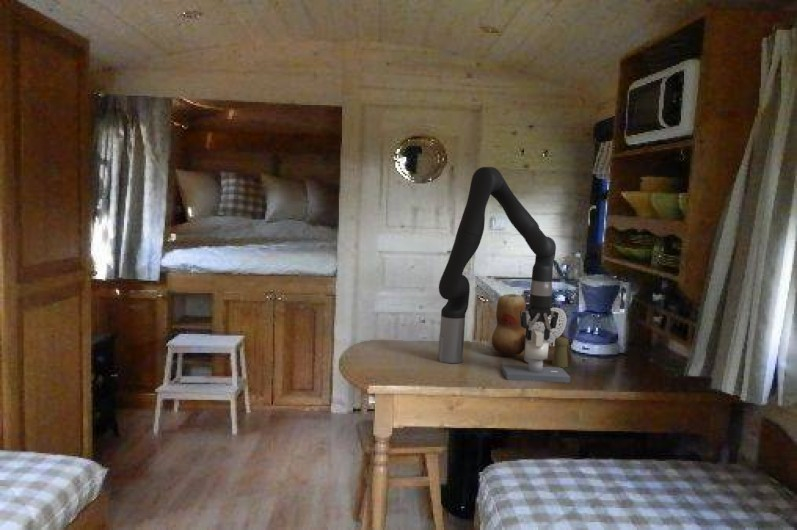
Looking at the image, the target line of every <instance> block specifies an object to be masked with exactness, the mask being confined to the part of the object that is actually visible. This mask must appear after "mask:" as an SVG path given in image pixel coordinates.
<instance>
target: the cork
mask: <svg viewBox="0 0 797 530" xmlns="http://www.w3.org/2000/svg"><path fill="white" fill-rule="evenodd" d="M568 346H569V339H568V338H566V337H564V336H559V337H557V338H556V339H555V343H554V347H555V348H554V353H553V358H552V362H551V366H552V365H553V366H552V367H554V366H556V367H563V368H562V369H565V368H564V367H567V368H568V367H569V365H568V364H569V363H568Z"/></svg>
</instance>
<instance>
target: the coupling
mask: <svg viewBox="0 0 797 530" xmlns="http://www.w3.org/2000/svg"><path fill="white" fill-rule="evenodd" d="M543 339H544V335H543V334H542V331H540V329H533V330H532V340H529V341H526V346H525V350H524V352H525V357H527V358H531V359H537V360H543V361H545V360H548V356H549V347H550V344H548V343H547V342H544V340H543Z"/></svg>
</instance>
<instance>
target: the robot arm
mask: <svg viewBox="0 0 797 530" xmlns="http://www.w3.org/2000/svg"><path fill="white" fill-rule="evenodd" d="M469 186H470V187H469V192H468V197H467V201H466V204H465V207H464V210H463V213H462V216H461V220H460V222H459V225H458V228H457V231H456V235H455V237H454V242H453V246H452V247H451V251H450V255H449V258H448V260H447V263H446V266H445V268H444V270H443V273H442V276H441V277H440V280H439V282H438V292H439V295H440V296H441V298H442V299H444V300H446V301H447V302H446V303H445V305H444V306H443V307H442V309H441V310H440V311H441V314H440V328H439V340H438V352H437V353H438V354H437V355H438V356H437V358H438V362H440V363H446V364H458V363H460V364H461V363H462V362H463V360H464V345H465V342H464V341H465V331H466V330H465V328H466V327H465V326H466V314H467V311H468V308H469V303H470V301H469V300H470V292H471V291H470V290H471V287H470V285H471V284H470V281H469V279H468V278H467V276H466V275H464V274H463V273H464V271H465V267H467V264H468V262H469V261H470V260H471V259H472V258H473V256H474V255H475V254H476V251H477V250H478V249H479V247H480V244H481V241H482V239H483V234H484V231H485V219H486V216H485V215H486V209H487V208H486V207H487V204H488V202H489V199H490V198H491V197H490V196H492V198H494V199H495V200H496V201H497V202H498V204H499V205H500V206H501V208H502V210H503V211H504V213H505V215H506V218H507V219H508V220H509V222H510V223H511V225H512V226H513V227H514V228H515V230H516V231H517V233H519V234H520V236H521V237H522V238H523V239H524V241H525V242H526V244H527V245H528V246H527V247H529V249H530V251H531V252H532V253H533V254H534V255H535V259H534V261H535V262H534V264H533V267H532V271H531V272H532V273H531V282H530V288H529V302H528V305H529V306H528V309H527V310H525V311H520V318H521V326H522V327H523V328H525V333H526V338H527V340H531V335H532V330H531V329H532V327H533V325H535V323H536V322H537V323H538V322H543V324H544V326H545V329H544V338H543V339H544V340H548V339H549V338H550V332H551V331H550V330H551V329H553V328H554V329H555V328H556V324H557V319H558V315H559V313H560V312H559V313H558V312H556V311H551V307H552V297H553V296H552V294H553V272H554V271H553V269H554V268H553V267H554V263H555V258H556V251H557V245H556V242H555V240H554V239H553V238H552V237H549V236H546V234H545V233H544V232H543V231H542V230H541V228H540V226H539V224H538V222H537V221H536V220H535V218H534V217H533V216H532V214H530V212H529V211H528V210H527V209H526V208H525V207H524V205H523V204H522V203H521V202H520V201H519V199H518V198H517V197H516V195H515V194H514V192H513V191H512V190H511V188H510V187H509V185H508V184H507V182H506V179H505V178H504V177H503V175H502V174H501V172H500V171H499V169H498V168H496V167H493V166H482V167H479V168H477V169H476V170H475V171H474V172H473V175H472V177H471V181H470V185H469ZM528 314H529V316H530V318H529V320H528V323H527V320H526V317H527V315H528ZM550 315H551V319H550V320H551V321H550V323H549V320H548V317H549V316H550ZM544 340H543V341H544Z"/></svg>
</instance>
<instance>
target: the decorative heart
mask: <svg viewBox="0 0 797 530" xmlns="http://www.w3.org/2000/svg"><path fill="white" fill-rule="evenodd" d="M550 309H551V311H556V312H558V313H559V315H558V319H557V324H556V328H555V329H554V328H553V329H551V330H550V338H549V339H548V340H544V338H543V341H544V342H547V343H548V344H549V347H550V346H551V347H555V339H556V338H557V337H561V335H562V334H563V333H564V331H565V329H566V326H567V321H568V320H567V314H566V313H565V311H564V310H563V309H562V308H559V307H552V308H551V307H550ZM529 318H530V316H529V314H528V315H527V317H526V320H527V323H528V320H529ZM548 320H549V323H550V322H551V314H550V316H549V317H548ZM533 329H540V331H541V332H542V334H543V335H544V329H545V326H544V324H543V322H536V323H535V325H533V327H532V329H531V330H533Z"/></svg>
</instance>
